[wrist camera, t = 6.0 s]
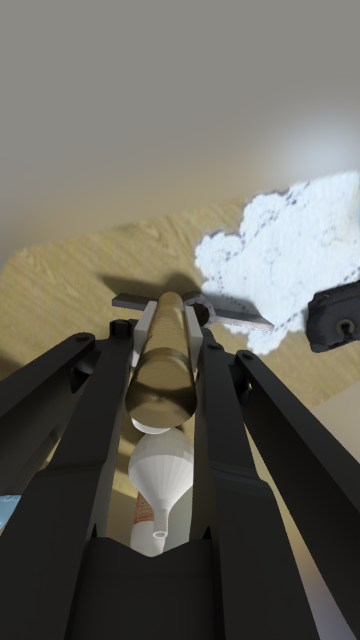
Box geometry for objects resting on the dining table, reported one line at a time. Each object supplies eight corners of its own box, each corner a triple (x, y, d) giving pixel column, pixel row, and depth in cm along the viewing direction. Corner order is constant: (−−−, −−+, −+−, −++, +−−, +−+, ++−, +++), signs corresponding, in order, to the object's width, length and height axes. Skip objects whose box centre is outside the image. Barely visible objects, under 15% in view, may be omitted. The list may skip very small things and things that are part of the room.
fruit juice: (152, 464, 56) (133, 647, 30) (173, 475, 58) (171, 652, 32) (135, 476, 58) (102, 656, 32) (155, 486, 61) (140, 659, 35)
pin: (157, 313, 21) (123, 426, 7) (159, 290, 20) (125, 370, 6) (180, 316, 21) (190, 430, 8) (184, 293, 20) (203, 378, 6)
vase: (127, 420, 48) (99, 518, 30) (190, 411, 47) (199, 506, 29) (144, 458, 55) (128, 557, 37) (199, 451, 54) (210, 548, 36)
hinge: (119, 311, 36) (111, 320, 31) (121, 279, 33) (112, 283, 28) (255, 333, 38) (266, 343, 34) (266, 304, 36) (280, 311, 31)
